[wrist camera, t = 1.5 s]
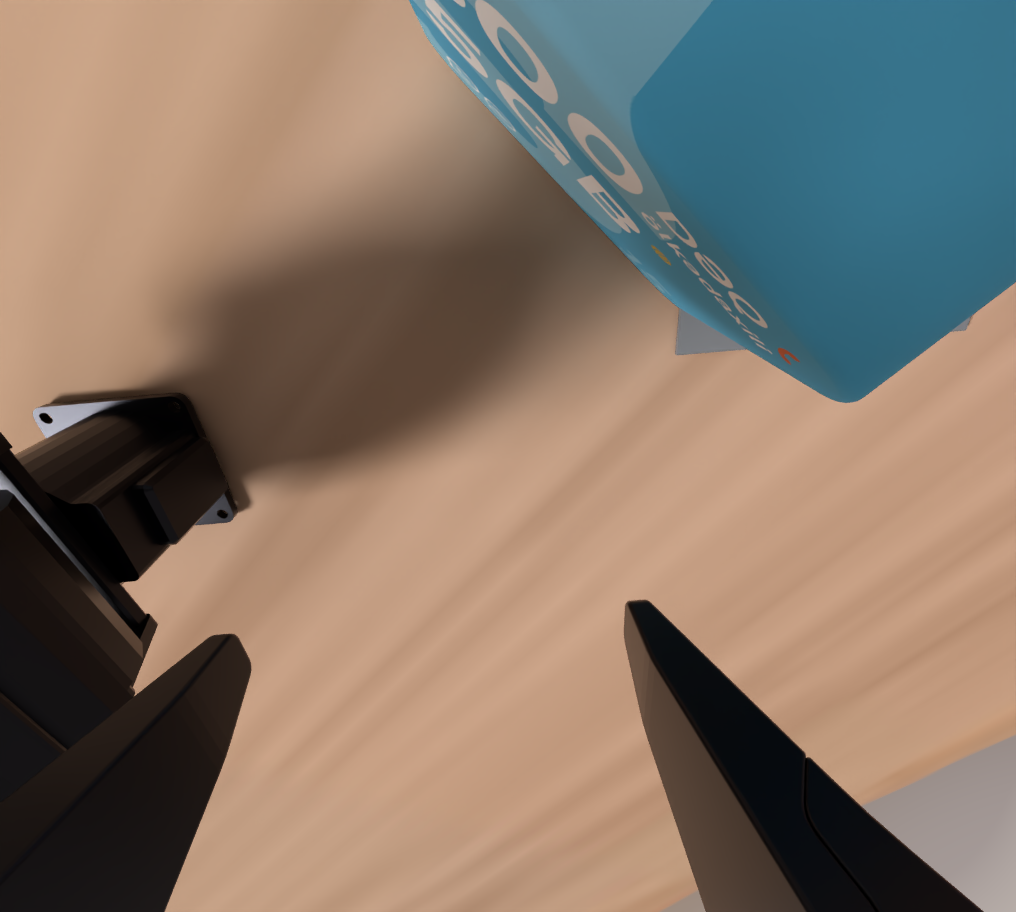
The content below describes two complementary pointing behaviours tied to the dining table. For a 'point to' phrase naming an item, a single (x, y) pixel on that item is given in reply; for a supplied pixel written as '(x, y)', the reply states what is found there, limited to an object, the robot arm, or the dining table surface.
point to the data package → (773, 157)
